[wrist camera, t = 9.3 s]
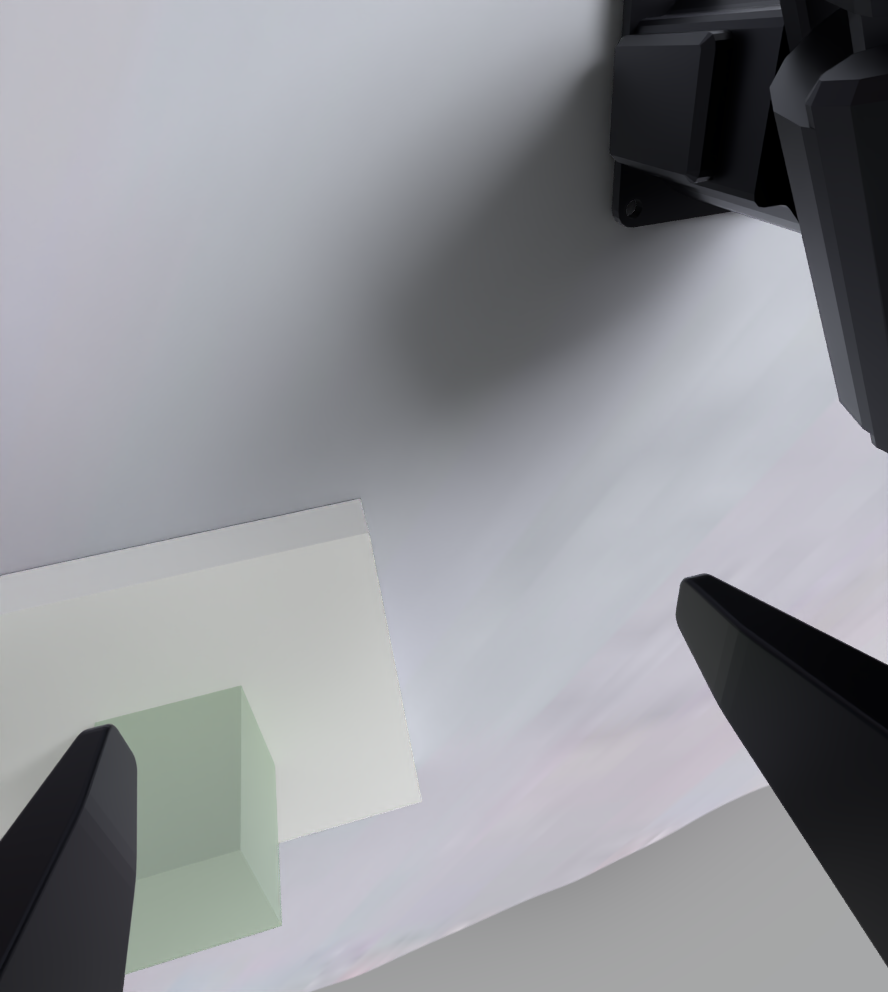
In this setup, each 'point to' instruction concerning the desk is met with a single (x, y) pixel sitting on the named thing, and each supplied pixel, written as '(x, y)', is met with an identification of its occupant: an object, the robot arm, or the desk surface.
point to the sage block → (201, 827)
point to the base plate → (217, 658)
